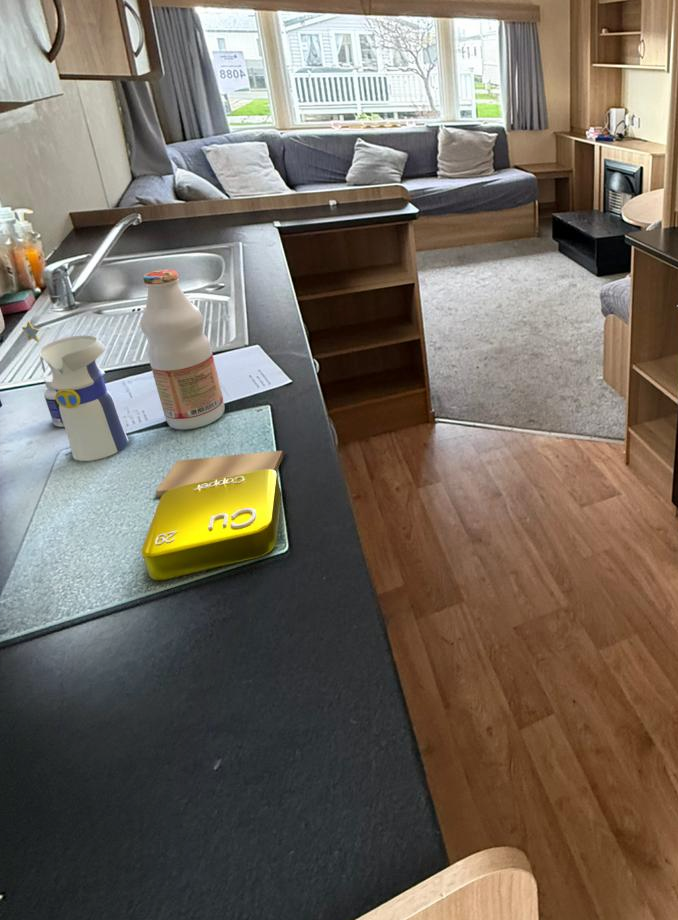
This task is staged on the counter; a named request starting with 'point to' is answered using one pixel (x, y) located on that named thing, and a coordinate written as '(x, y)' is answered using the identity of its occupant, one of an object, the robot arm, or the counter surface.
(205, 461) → the wooden board
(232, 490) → the element tile
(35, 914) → the counter surface
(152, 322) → the fruit juice
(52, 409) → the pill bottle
